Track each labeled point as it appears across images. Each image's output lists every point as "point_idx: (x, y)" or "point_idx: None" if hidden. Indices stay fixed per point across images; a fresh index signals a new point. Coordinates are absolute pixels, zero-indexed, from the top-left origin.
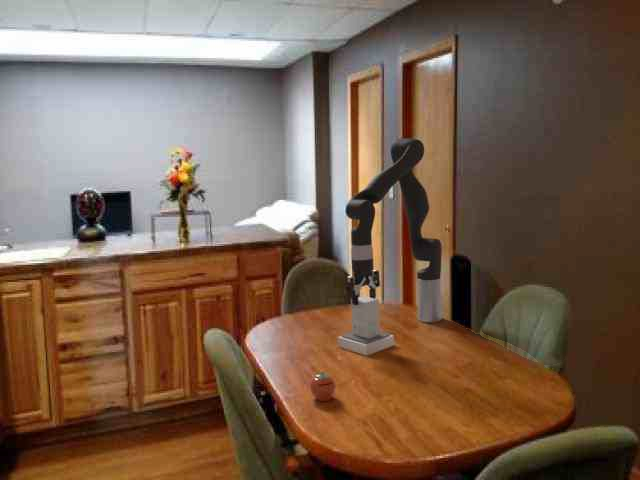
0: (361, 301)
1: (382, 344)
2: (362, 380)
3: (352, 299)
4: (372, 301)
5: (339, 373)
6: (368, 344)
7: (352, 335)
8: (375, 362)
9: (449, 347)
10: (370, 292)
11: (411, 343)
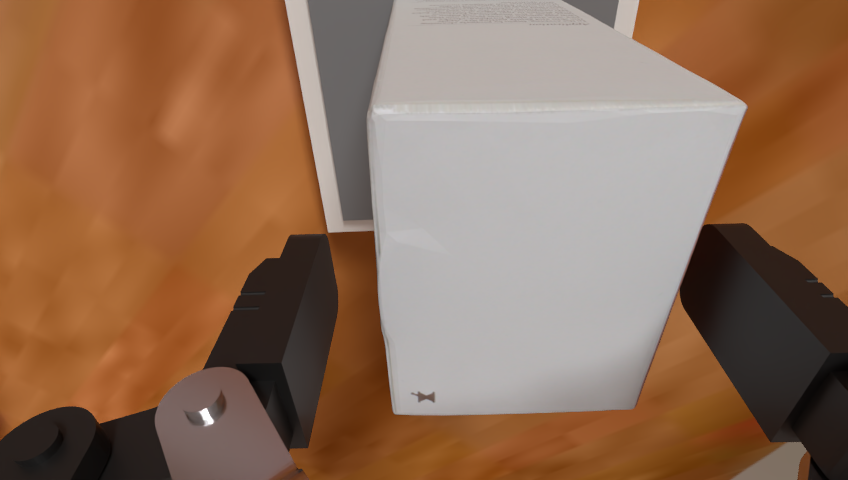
0: (394, 340)
1: None
2: (150, 368)
3: (237, 324)
4: (506, 409)
5: (86, 274)
6: (354, 227)
7: (378, 21)
8: None
9: (688, 364)
10: (768, 326)
11: None
